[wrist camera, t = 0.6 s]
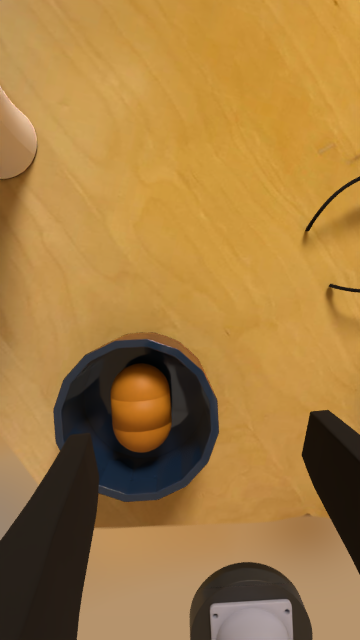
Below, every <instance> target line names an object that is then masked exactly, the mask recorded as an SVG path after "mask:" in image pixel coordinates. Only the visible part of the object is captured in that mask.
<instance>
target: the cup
mask: <svg viewBox="0 0 360 640" xmlns="http://www.w3.org/2000/svg"><path fill="white" fill-rule="evenodd" d="M36 149H37V136H36V133H35V130H34V127H33V125H32V124H31V122H30V120H29V119H28V118H27V117H26V116H25V115H24V114H23V113H22V112H21V111H20V110H19V109H18V108H17V107H16V106H15V105H14V104H13V103H12V102H11V101H10V99H9V98H8V96H7V95H6V94H5V92H4V91H3V89H2V88H1V86H0V179H7V178H11V177H14V176H17V175H19V174H20V173H22V172H23V171H25V170H26V168H27V167H28V166H29V165H30V164H31V162H32V160H33V158H34V157H35V153H36Z"/></svg>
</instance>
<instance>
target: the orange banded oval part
mask: <svg viewBox="0 0 360 640" xmlns="http://www.w3.org/2000/svg"><path fill="white" fill-rule="evenodd" d="M111 411H112V425H113V431H114V434H115V436H116V438H117V440H118V441H119V442H120V444H121V445H123V446H124V447H125V448H127V449H129V450H130V451H134V452H140V453H143V452H149V451H151V450H154V449H156V448H157V447H159V446H160V445H161V444H162V443H163V442H164V441H165V440H166V438H167V437H168V434H169V432H170V429H171V424H172V416H171V399H170V388H169V384H168V381H167V379H166V377H165V375H164V374H163V373H162V372H161V371H160V370H159V369H157V368H156V367H154V366H152V365H149V364H144V363H138V364H133V365H130V366H128V367H126V368H124V369H123V370H122V371H121V372H120V373H118V375H117V376H116V378H115V379H114V381H113V384H112V387H111Z"/></svg>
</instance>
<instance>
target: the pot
mask: <svg viewBox="0 0 360 640" xmlns="http://www.w3.org/2000/svg"><path fill="white" fill-rule="evenodd" d="M138 363H144V364H149V365H152V366H154V367H156V368H157V369H159V370H160V371H161V372H162V373H163V374H164V375H165V377H166V379H167V381H168V384H169V388H170V399H171V416H172V424H171V429H170V432H169V434H168V437H167V438H166V440H165V441H164V442H163V443H162V444H161V445H160V446H159V447H157V448H156V449H154V450H151V451H149V452H143V453H140V452H134V451H130V450H129V449H127V448H125V447H124V446H123V445H121V444H120V442H119V441H118V440H117V438H116V436H115V434H114V431H113V425H112V411H111V387H112V384H113V381H114V379H115V378H116V376H117V375H118V373H120V372H121V371H122V370H123V369H124V368H126V367H128V366H130V365H133V364H138ZM53 412H54V425H55V439H56V444H57V446H58V448H59V450H61V449H62V447H63V445H64V443H65V442H66V440H67V438H68V437H69V436H70V435H73V434H83V433H90V434H91V439H92V444H93V448H94V453H95V458H96V463H97V468H98V473H99V489H98V493H100V494H103V495H106V496H109V497H112V498H115V499H118V500H121V501H124V502H125V501H126V502H132V501H149V500H157V499H158V500H159V499H161V498H163V497H165V496H167V495H169V494H171V493H173V492H175V491H178V490H180V489H182V488H184V487H186V486H187V485H188V484H189V483H190V482H191V481H192V480H193V479H194V477H195V476H196V475H197V474H198V473H199V472H200V471H201V470H202V469H203V468H204V466H205V465H206V464H207V463H208V462H209V459H210V456H211V453H212V450H213V448H214V445H215V442H216V439H217V437H218V434H219V422H218V403H217V398H216V396H215V394H214V391H213V389H212V387H211V384H210V382H209V380H208V378H207V376H206V373H205V371H204V369H203V367H202V365H201V363H200V361H199V359H198V358H197V357H196V356H195V355H194V354H193V353H192V352H191V351H190V350H189V349H188V348H186V347H185V346H184V345H183V344H181V343H180V342H179V341H177V340H174V339H172V338H169V337H167V336H164V335H160V334H157V333H153V332H150V333H132V334H126V335H123V336H121V337H119V338H117V339H115V340H113V341H111V342H109V343H107V344H105V345H103V346H101V347H99V348H97V349H95V350H94V351H92V352H90V353H88V354H86V355H85V356H84V357H83V358H82V359H81V360H80V361H79V363H78V364H77V365H76V366H75V367H74V368H73V369H72V370H71V372H70V373H69V374H68V375H67V376H66V377H65V378H64V380H63V383H62V386H61V389H60V392H59V395H58V397H57V400H56V403H55V406H54V411H53Z"/></svg>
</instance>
